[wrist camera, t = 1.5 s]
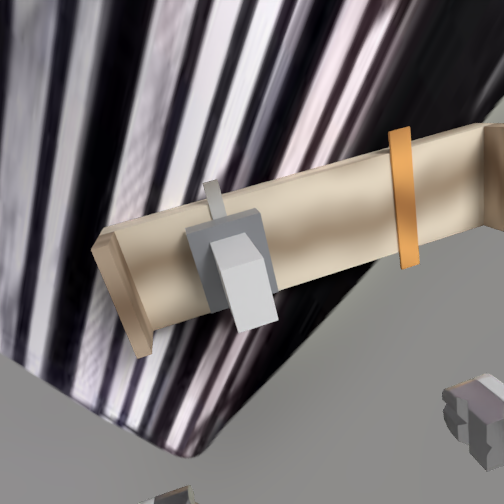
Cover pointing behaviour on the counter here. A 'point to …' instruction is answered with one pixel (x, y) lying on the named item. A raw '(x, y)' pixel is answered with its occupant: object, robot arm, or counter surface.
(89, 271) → the counter surface
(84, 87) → the counter surface
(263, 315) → the fader tab
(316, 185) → the fader track
